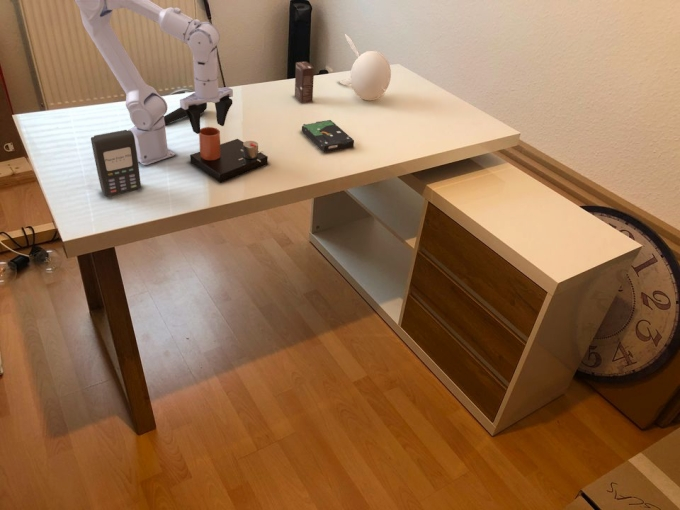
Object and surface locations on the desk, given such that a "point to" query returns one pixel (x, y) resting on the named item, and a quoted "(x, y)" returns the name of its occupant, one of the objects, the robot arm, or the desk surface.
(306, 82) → the box
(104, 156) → the card reader
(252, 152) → the dial
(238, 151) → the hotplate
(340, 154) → the desk surface
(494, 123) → the desk surface
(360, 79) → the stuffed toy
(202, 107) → the microphone
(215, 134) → the cup
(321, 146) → the disk drive
